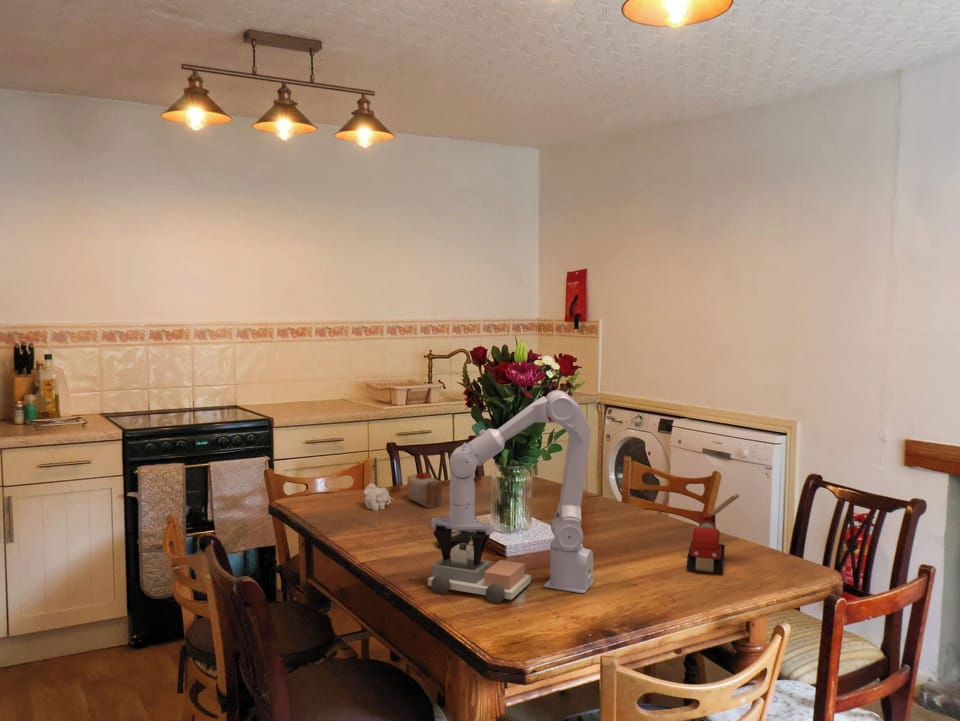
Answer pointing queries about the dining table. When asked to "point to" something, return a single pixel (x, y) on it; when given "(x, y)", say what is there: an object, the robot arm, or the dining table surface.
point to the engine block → (462, 556)
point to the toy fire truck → (708, 543)
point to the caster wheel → (461, 537)
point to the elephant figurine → (376, 497)
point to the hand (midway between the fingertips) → (461, 561)
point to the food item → (425, 490)
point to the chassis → (481, 579)
